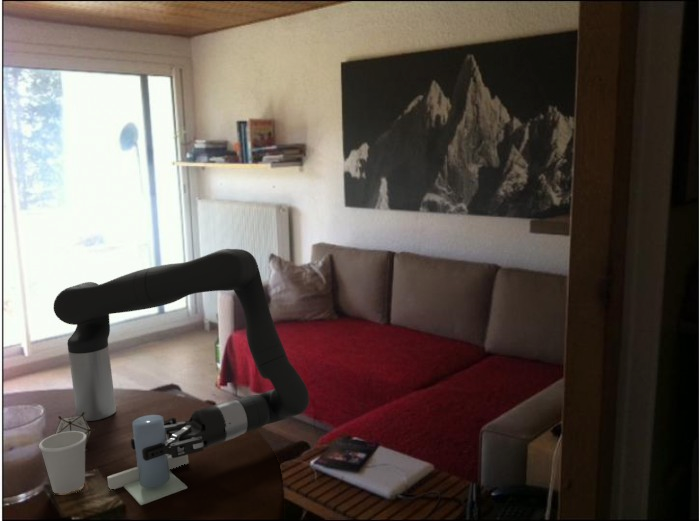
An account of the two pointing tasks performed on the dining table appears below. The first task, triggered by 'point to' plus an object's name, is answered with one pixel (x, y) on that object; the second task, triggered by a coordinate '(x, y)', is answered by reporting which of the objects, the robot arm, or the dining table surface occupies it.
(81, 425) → the grey faceted polyhedron
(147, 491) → the coaster
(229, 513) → the dining table surface
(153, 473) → the pale blue cylinder
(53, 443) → the dixie cup
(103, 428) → the dining table surface
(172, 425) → the robot arm
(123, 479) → the white long bar
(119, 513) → the dining table surface
